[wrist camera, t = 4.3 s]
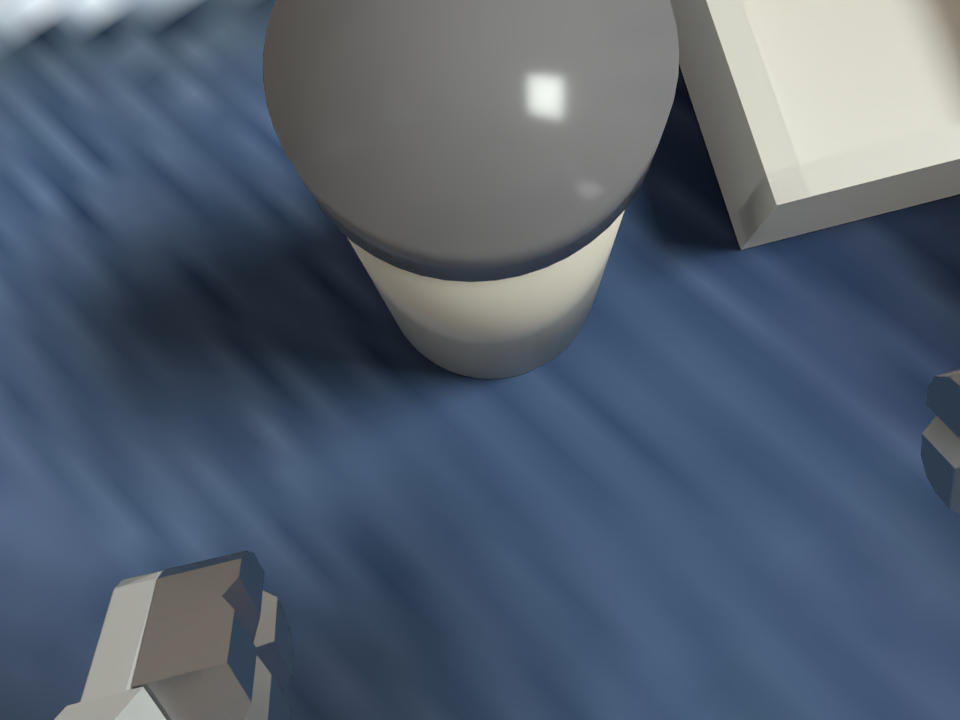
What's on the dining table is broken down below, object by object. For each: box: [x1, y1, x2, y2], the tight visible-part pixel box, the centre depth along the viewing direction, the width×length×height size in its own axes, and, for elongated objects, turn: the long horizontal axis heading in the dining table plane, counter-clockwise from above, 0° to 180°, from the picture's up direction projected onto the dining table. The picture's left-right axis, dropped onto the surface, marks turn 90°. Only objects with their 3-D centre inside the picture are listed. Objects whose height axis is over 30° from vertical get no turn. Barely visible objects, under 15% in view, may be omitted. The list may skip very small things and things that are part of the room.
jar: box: [263, 0, 679, 379], centre depth 17 cm, size 6×6×11 cm
